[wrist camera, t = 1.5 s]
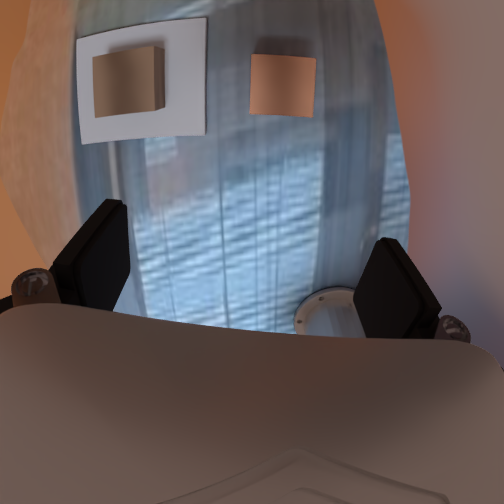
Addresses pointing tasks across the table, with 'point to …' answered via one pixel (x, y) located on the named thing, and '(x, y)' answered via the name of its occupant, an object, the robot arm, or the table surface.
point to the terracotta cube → (282, 85)
